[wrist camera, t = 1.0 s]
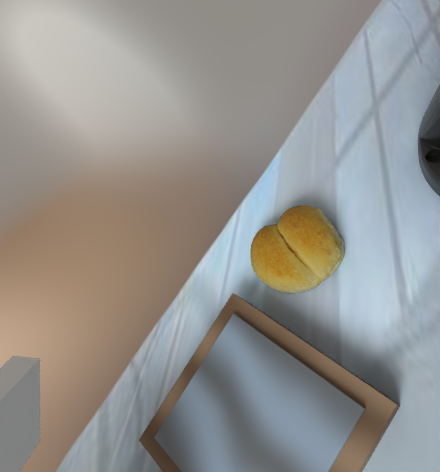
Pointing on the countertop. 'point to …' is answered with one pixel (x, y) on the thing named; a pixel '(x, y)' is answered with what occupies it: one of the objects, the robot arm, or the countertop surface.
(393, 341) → the countertop surface
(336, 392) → the plinth
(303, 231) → the bread roll
